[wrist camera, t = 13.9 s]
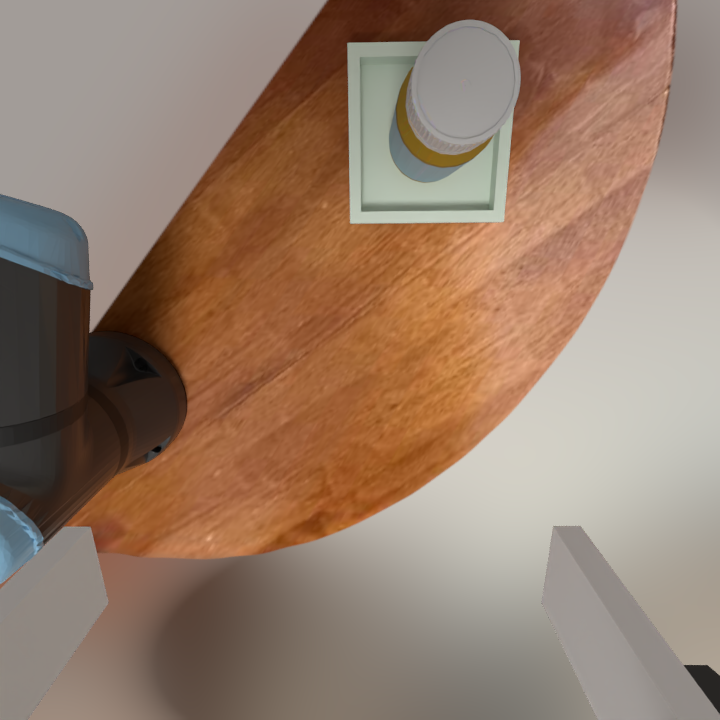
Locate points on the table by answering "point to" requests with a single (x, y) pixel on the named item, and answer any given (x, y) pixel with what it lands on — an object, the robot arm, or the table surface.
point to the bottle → (453, 100)
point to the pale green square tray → (375, 164)
